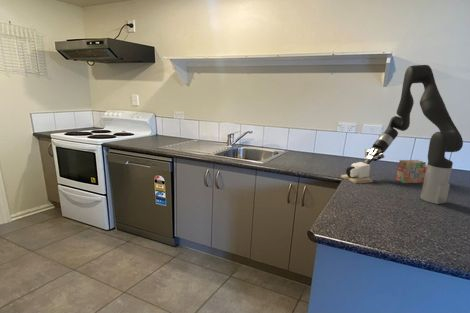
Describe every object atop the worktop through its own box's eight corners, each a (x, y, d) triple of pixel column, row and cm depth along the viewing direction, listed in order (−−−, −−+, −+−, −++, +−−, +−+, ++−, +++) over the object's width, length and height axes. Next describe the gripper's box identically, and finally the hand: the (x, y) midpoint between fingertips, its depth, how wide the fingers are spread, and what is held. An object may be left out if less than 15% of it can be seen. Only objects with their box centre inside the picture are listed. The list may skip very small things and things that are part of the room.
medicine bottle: (360, 172, 165) (344, 176, 161) (360, 161, 163) (344, 165, 159) (369, 176, 158) (353, 180, 154) (370, 164, 156) (353, 168, 152)
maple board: (372, 181, 155) (372, 179, 155) (356, 183, 151) (356, 181, 151) (356, 175, 166) (357, 173, 166) (341, 176, 162) (341, 174, 161)
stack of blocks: (426, 179, 165) (430, 159, 163) (435, 182, 159) (439, 162, 157) (395, 179, 162) (399, 159, 159) (403, 183, 156) (407, 162, 153)
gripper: (371, 137, 166) (353, 157, 164) (390, 140, 155) (372, 163, 153) (375, 145, 170) (358, 165, 168) (395, 149, 158) (377, 171, 156)
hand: (365, 164), depth 160 cm, fingers closed
